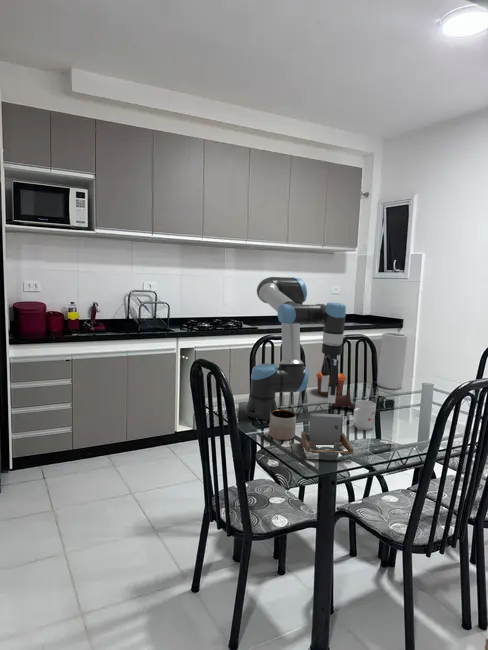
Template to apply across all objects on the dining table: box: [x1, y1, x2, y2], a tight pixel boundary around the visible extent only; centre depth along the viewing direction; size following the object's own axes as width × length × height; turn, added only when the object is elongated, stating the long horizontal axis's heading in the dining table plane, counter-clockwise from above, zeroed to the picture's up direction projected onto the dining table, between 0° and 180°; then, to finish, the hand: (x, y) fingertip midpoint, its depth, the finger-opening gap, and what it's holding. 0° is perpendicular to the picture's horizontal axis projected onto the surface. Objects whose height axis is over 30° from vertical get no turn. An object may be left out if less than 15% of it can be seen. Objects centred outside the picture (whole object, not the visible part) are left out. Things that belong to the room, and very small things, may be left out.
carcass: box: [300, 430, 354, 455], centre depth 177 cm, size 17×15×5 cm
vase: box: [376, 331, 408, 390], centre depth 271 cm, size 14×14×32 cm
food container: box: [316, 371, 347, 397], centre depth 252 cm, size 16×16×11 cm
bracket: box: [332, 389, 367, 411], centre depth 228 cm, size 6×17×10 cm, turn 81°
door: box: [308, 412, 343, 445], centre depth 179 cm, size 12×4×12 cm, turn 91°
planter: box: [268, 408, 297, 441], centre depth 190 cm, size 11×11×10 cm
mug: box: [352, 399, 377, 431], centre depth 203 cm, size 12×9×11 cm
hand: (327, 397), depth 178 cm, fingers open, 13 cm apart
